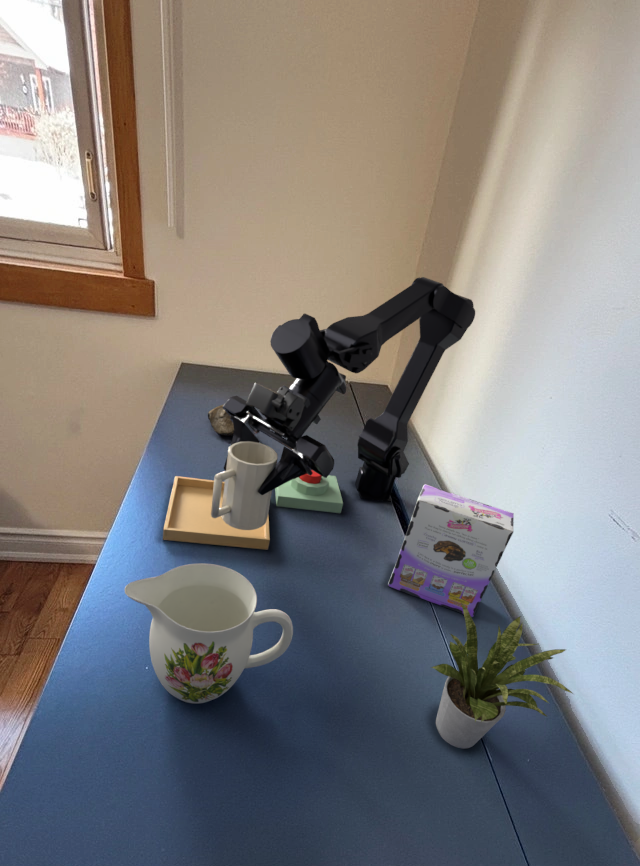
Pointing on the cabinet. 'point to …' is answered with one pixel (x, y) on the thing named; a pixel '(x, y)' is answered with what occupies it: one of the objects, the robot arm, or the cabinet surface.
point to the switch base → (310, 495)
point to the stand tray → (205, 518)
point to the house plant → (485, 684)
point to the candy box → (451, 549)
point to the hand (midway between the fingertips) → (242, 481)
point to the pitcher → (204, 629)
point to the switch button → (311, 478)
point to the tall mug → (244, 486)
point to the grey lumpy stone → (221, 421)
